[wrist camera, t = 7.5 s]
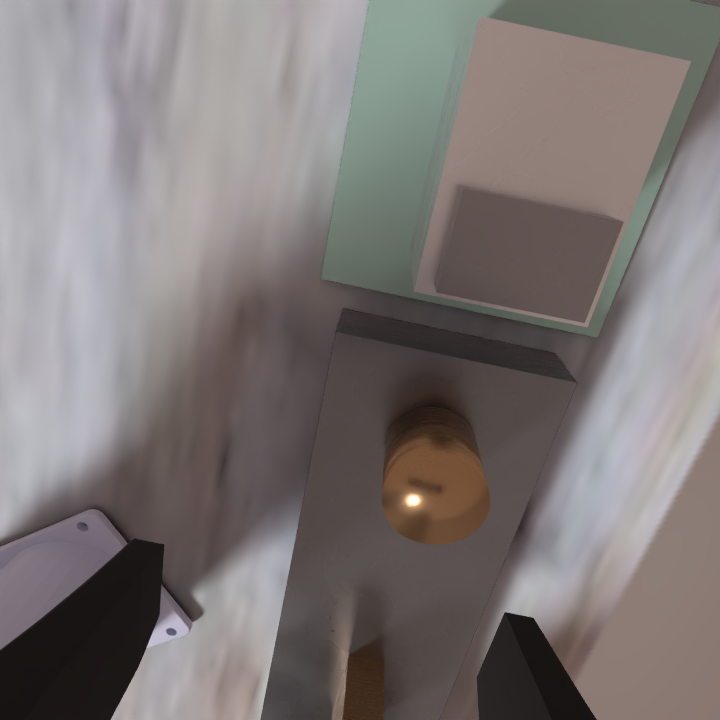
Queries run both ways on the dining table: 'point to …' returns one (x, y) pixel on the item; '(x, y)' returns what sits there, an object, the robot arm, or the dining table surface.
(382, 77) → the mat
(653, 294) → the dining table surface
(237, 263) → the dining table surface
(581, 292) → the lever cap
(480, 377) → the hand plane
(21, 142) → the dining table surface
